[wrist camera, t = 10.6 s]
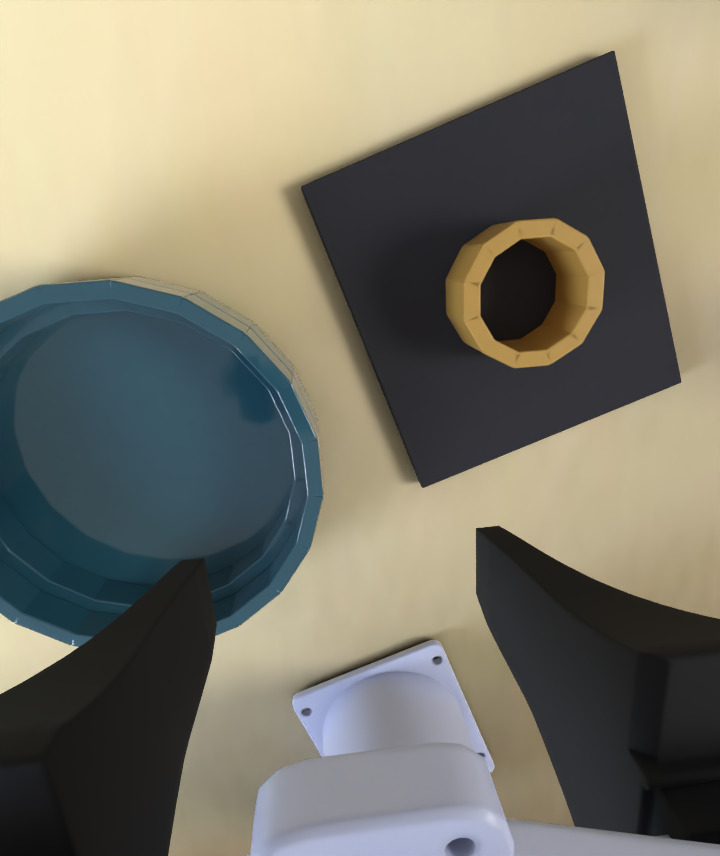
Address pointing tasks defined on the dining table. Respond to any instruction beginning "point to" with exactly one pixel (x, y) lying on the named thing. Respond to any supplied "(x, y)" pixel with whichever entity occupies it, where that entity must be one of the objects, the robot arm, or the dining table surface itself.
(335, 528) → the dining table surface
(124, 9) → the dining table surface
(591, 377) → the coaster
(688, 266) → the dining table surface
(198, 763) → the dining table surface
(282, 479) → the bowl
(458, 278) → the napkin ring
